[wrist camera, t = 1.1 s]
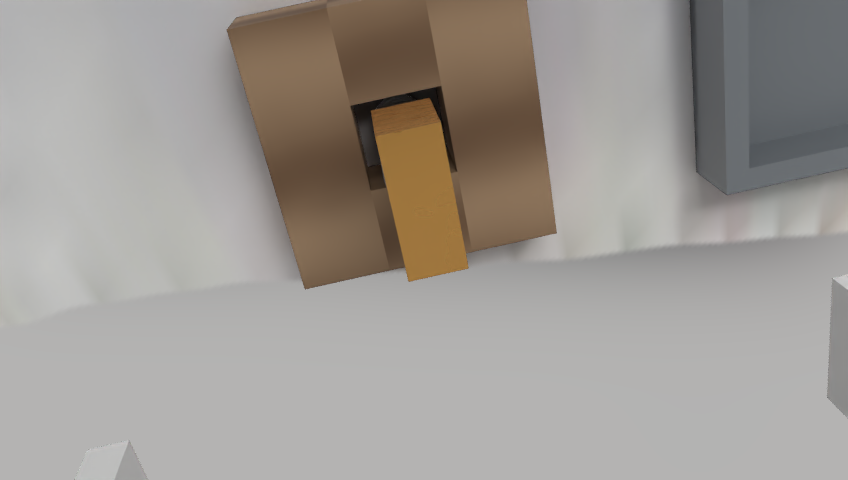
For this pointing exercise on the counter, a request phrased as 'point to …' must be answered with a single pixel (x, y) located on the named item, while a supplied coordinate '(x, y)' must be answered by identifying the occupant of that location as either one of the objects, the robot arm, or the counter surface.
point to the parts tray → (769, 90)
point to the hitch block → (381, 78)
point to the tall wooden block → (419, 186)
